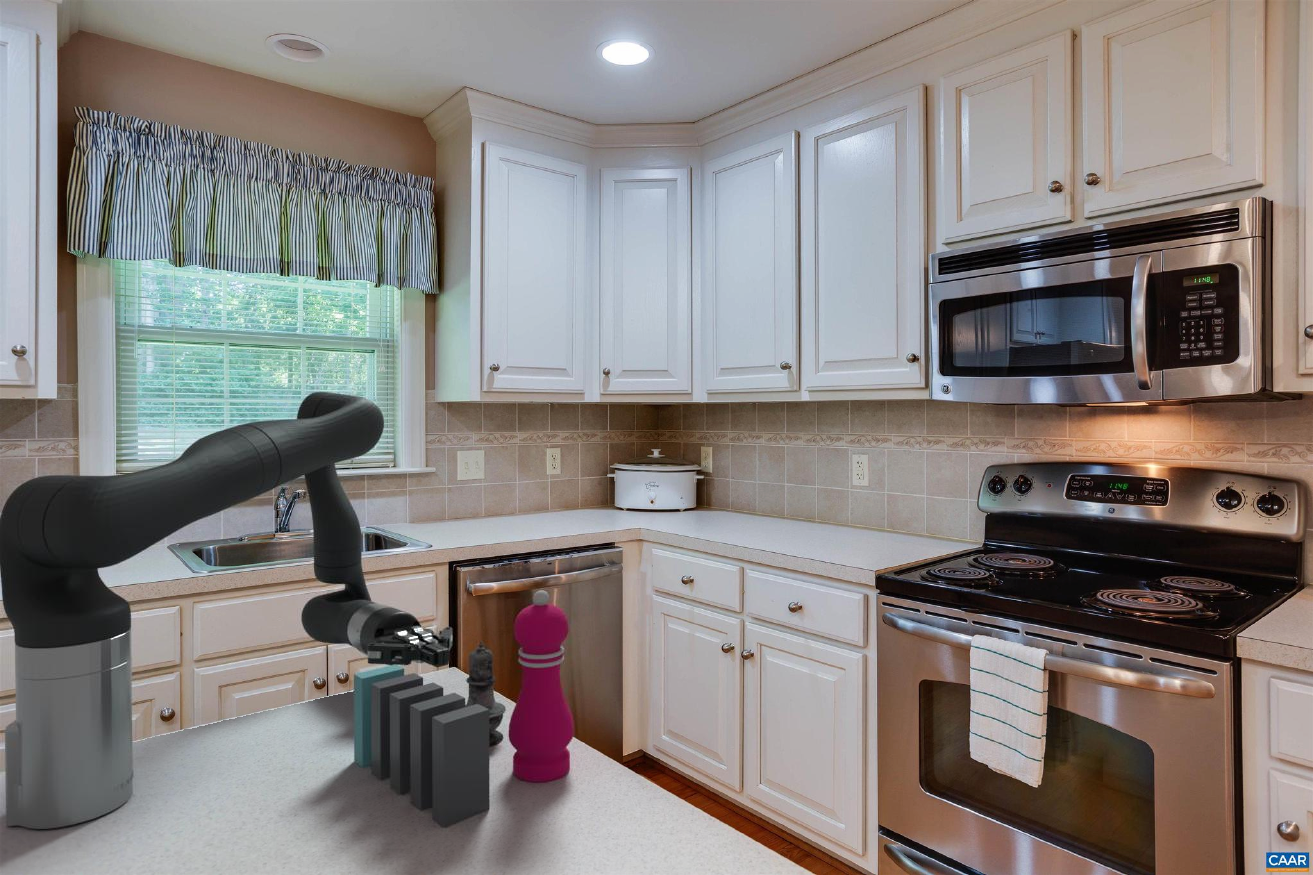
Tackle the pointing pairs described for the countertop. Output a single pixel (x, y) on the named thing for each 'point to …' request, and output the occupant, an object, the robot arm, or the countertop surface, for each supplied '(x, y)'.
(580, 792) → the countertop surface
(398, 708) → the domino
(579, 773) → the countertop surface
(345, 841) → the countertop surface
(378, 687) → the domino
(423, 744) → the domino
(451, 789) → the domino
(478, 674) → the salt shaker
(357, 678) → the domino
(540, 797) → the countertop surface
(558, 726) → the pepper mill
